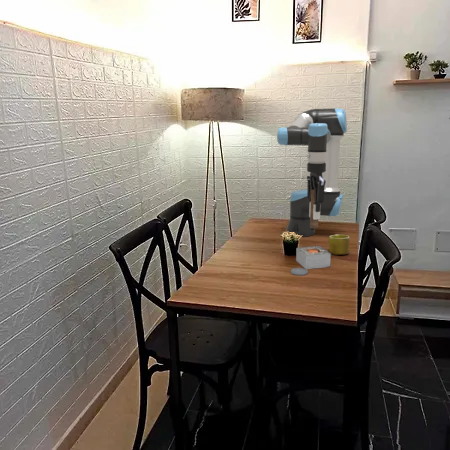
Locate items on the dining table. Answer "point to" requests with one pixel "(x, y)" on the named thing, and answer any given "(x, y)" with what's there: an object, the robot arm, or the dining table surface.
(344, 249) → the mug
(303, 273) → the coaster
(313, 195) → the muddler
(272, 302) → the dining table surface
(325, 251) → the grey square block
